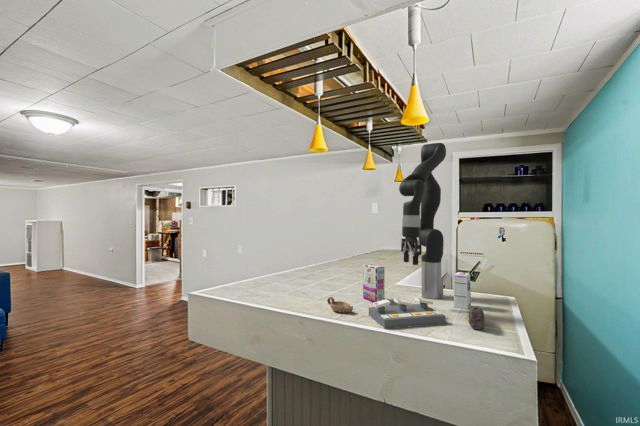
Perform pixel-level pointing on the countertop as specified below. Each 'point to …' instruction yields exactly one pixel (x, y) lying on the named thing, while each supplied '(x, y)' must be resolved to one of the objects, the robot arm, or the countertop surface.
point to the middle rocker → (402, 302)
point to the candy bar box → (373, 282)
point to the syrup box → (462, 290)
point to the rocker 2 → (423, 300)
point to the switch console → (406, 315)
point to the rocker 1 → (381, 303)
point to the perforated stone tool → (476, 317)
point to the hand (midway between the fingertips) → (410, 263)
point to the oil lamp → (339, 306)
